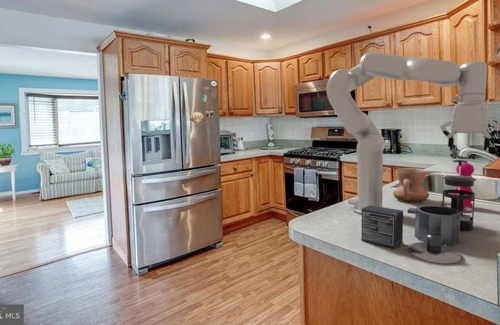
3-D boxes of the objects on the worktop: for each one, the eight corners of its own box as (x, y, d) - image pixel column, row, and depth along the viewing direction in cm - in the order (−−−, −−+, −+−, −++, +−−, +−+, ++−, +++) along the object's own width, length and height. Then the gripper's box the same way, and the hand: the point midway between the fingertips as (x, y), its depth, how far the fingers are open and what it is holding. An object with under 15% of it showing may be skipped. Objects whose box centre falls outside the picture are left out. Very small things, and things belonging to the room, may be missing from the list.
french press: (444, 219, 111) (447, 157, 108) (476, 225, 104) (480, 159, 101) (436, 228, 103) (439, 161, 100) (470, 234, 96) (474, 163, 93)
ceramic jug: (399, 194, 150) (399, 166, 148) (432, 198, 140) (433, 167, 138) (387, 203, 137) (386, 172, 135) (422, 207, 127) (423, 174, 125)
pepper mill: (477, 209, 121) (480, 160, 118) (457, 209, 122) (459, 160, 120) (468, 205, 128) (471, 158, 125) (449, 204, 129) (451, 158, 127)
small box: (403, 243, 92) (404, 209, 90) (395, 250, 87) (396, 214, 86) (369, 235, 99) (369, 204, 98) (360, 240, 95) (360, 208, 93)
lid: (404, 257, 83) (404, 237, 82) (413, 242, 92) (414, 224, 92) (458, 270, 75) (459, 248, 74) (462, 252, 85) (463, 232, 84)
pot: (403, 238, 95) (404, 211, 94) (411, 227, 104) (412, 202, 103) (467, 250, 85) (468, 219, 84) (469, 237, 94) (471, 209, 93)
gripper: (439, 101, 106) (437, 149, 109) (503, 97, 95) (499, 151, 97) (443, 101, 112) (441, 147, 114) (504, 98, 101) (500, 149, 103)
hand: (468, 149), depth 106 cm, fingers open, 9 cm apart
